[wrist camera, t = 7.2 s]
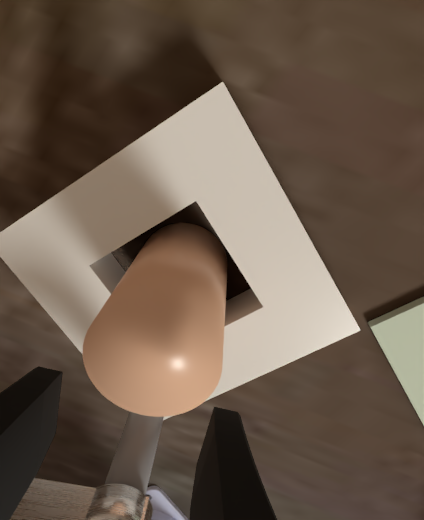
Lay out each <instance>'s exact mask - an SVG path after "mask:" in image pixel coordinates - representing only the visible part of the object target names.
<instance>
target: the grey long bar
mask: <svg viewBox="0 0 424 520" xmlns="http://www.w3.org/2000/svg"><path fill="white" fill-rule="evenodd" d="M152 514H153V508H152V504H151V502H150V500H149V497H148V496H146V495H145V494H143V493H142V492H141V491H139V490H137V489H136V488H133V487H131V486H128V485H124V484H105V485H102V486H99V487H97V488H93V487H87V486H81V485H74V484H68V483H62V482H56V481H50V480H44V479H38V478H34V479H33V481H32V483H31V484H30V486H29V488H28V490H27V491H26V493H25V495H24V496H23V498H22V500H21V501H20V503H19V505H18V506H17V508H16V510H15V511H14V513H13V515H12V516H11V518H10V520H151V518H152Z"/></svg>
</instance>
